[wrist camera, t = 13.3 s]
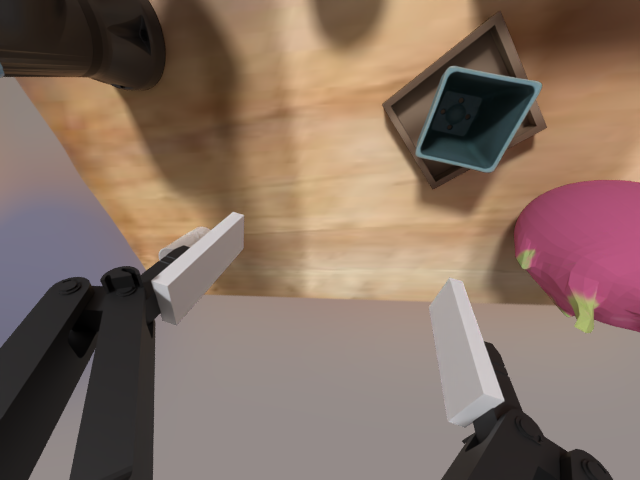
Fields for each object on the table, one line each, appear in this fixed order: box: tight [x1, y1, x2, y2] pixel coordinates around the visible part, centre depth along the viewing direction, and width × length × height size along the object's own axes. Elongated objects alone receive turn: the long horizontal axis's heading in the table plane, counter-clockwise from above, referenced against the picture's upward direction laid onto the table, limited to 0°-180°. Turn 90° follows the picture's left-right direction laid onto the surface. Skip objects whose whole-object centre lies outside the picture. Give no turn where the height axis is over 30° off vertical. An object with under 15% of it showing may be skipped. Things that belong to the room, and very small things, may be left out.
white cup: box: [159, 227, 211, 260], centre depth 54 cm, size 8×8×10 cm
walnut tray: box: [382, 11, 547, 189], centre depth 32 cm, size 14×14×3 cm
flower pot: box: [415, 66, 542, 173], centre depth 29 cm, size 9×9×9 cm
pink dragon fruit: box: [514, 180, 640, 333], centre depth 24 cm, size 18×14×30 cm
